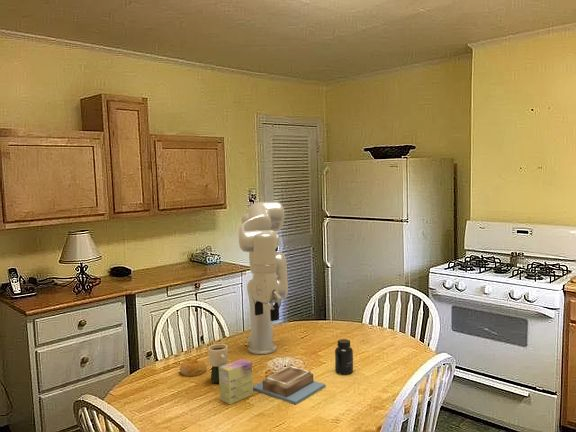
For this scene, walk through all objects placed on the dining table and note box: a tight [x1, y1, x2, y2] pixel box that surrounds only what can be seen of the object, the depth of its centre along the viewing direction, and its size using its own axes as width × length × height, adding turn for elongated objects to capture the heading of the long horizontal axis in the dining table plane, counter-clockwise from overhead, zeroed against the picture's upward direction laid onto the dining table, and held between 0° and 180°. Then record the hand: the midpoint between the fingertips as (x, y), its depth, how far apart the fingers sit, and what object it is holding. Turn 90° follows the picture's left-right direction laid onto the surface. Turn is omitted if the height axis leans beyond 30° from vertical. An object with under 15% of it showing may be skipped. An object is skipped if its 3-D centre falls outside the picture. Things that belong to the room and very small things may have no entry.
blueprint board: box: [253, 380, 326, 406], centre depth 178 cm, size 20×17×1 cm
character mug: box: [207, 343, 229, 383], centre depth 185 cm, size 11×7×13 cm, turn 31°
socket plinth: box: [262, 365, 315, 397], centre depth 177 cm, size 11×15×4 cm
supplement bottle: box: [334, 338, 354, 375], centre depth 191 cm, size 7×7×12 cm
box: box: [218, 358, 254, 405], centre depth 171 cm, size 10×6×12 cm, turn 134°
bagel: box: [178, 359, 207, 377], centre depth 195 cm, size 10×11×5 cm
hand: (266, 317), depth 174 cm, fingers open, 9 cm apart
